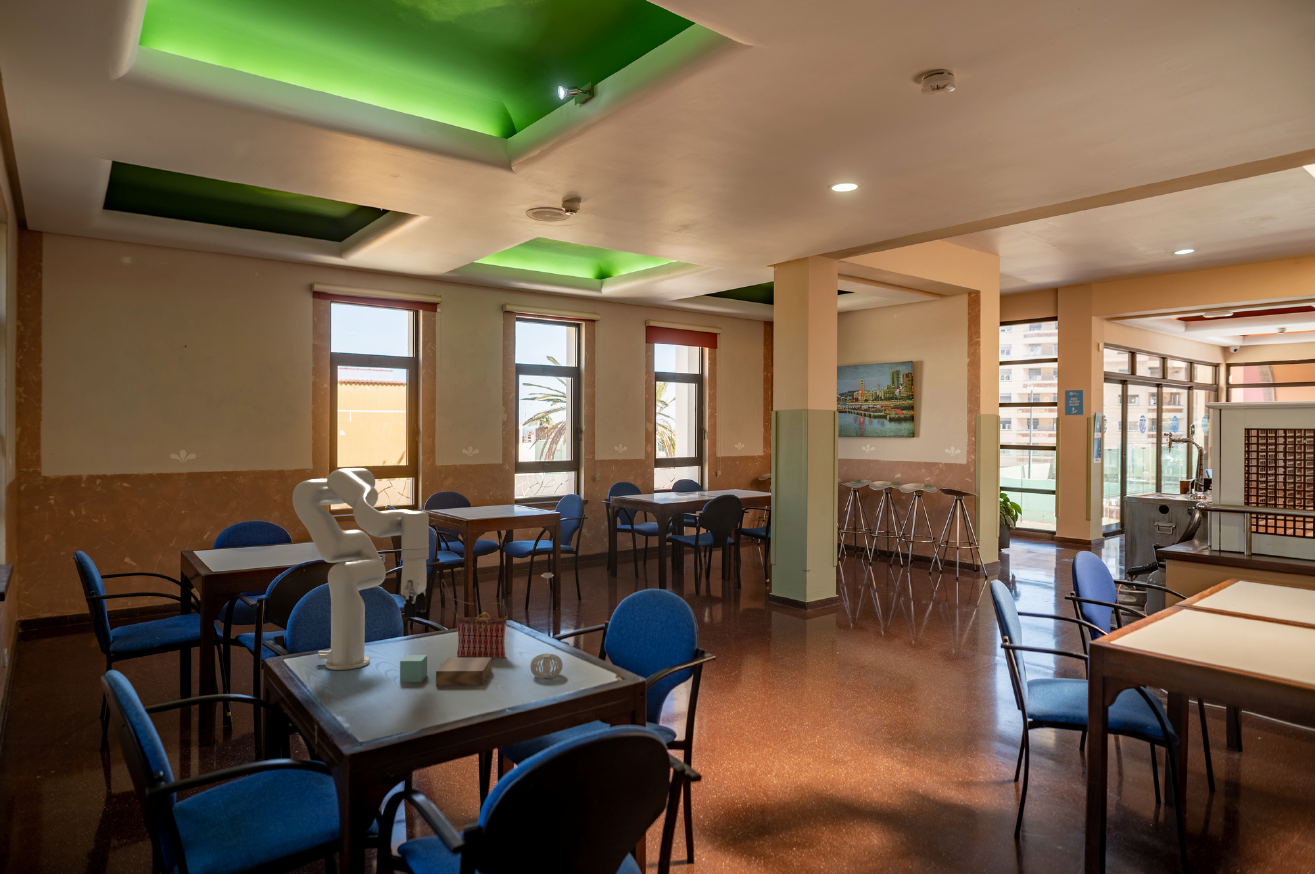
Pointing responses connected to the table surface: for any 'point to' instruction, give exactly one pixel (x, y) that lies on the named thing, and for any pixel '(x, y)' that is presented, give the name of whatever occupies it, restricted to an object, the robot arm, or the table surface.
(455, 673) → the walnut plinth
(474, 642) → the handbag
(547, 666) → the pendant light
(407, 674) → the teal block
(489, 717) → the table surface
